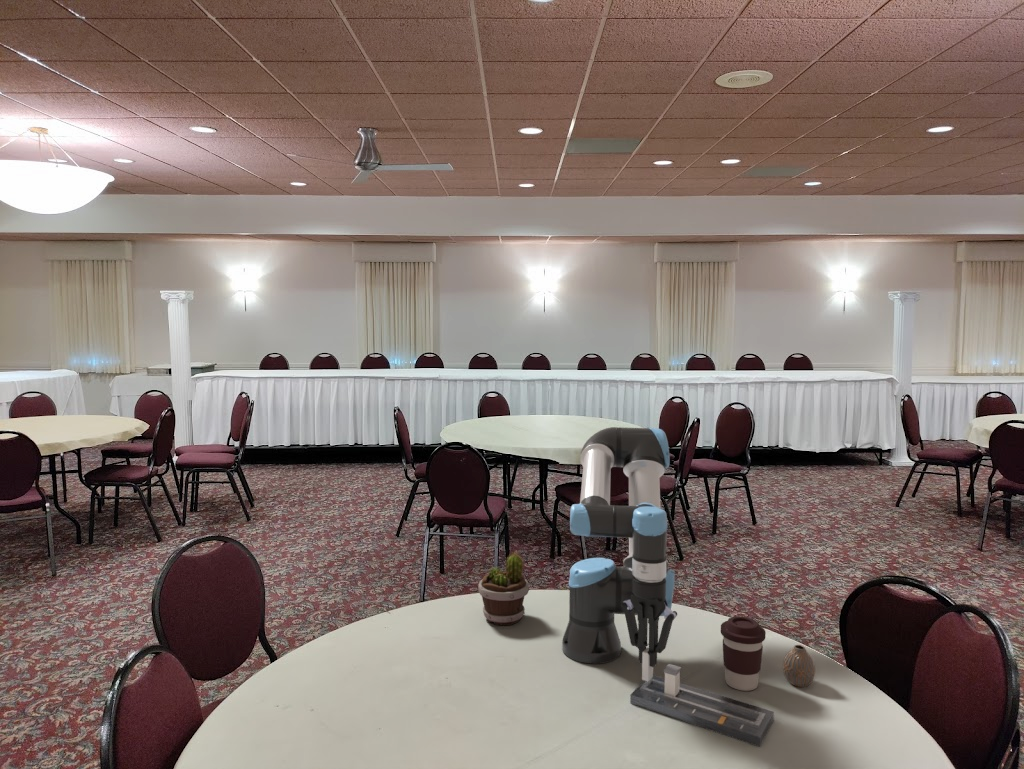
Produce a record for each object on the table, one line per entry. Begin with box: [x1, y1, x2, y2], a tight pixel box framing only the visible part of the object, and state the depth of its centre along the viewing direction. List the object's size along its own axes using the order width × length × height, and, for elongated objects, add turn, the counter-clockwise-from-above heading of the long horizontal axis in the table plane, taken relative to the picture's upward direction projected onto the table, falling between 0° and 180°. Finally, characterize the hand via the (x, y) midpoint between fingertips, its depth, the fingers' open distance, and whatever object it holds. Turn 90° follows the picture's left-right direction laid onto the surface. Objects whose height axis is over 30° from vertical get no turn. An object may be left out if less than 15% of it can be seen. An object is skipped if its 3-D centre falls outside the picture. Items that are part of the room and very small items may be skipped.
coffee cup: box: [720, 615, 766, 692], centre depth 158 cm, size 10×10×15 cm
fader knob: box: [663, 663, 682, 697], centre depth 150 cm, size 3×3×6 cm
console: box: [629, 674, 775, 747], centre depth 147 cm, size 28×11×3 cm, turn 55°
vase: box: [782, 644, 816, 688], centre depth 159 cm, size 7×7×9 cm
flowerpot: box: [477, 549, 531, 626], centre depth 194 cm, size 14×15×20 cm
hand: (647, 678), depth 154 cm, fingers closed
